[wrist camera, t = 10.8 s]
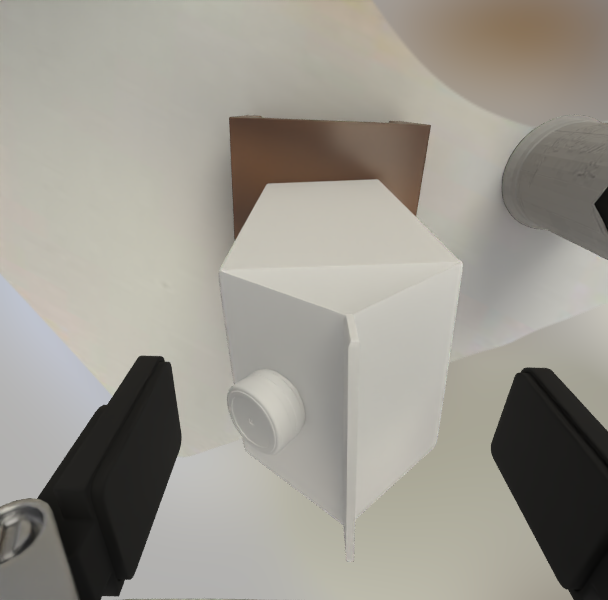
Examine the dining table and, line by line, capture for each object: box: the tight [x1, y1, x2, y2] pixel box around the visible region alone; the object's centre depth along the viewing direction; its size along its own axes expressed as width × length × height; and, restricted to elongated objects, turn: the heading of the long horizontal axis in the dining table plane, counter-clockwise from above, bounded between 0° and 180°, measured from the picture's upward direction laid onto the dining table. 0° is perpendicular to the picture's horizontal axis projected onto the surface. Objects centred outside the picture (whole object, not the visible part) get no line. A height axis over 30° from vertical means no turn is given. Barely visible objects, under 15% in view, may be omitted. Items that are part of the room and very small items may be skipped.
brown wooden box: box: [229, 115, 431, 240], centre depth 28 cm, size 14×12×9 cm
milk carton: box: [219, 179, 463, 562], centre depth 18 cm, size 7×7×19 cm
